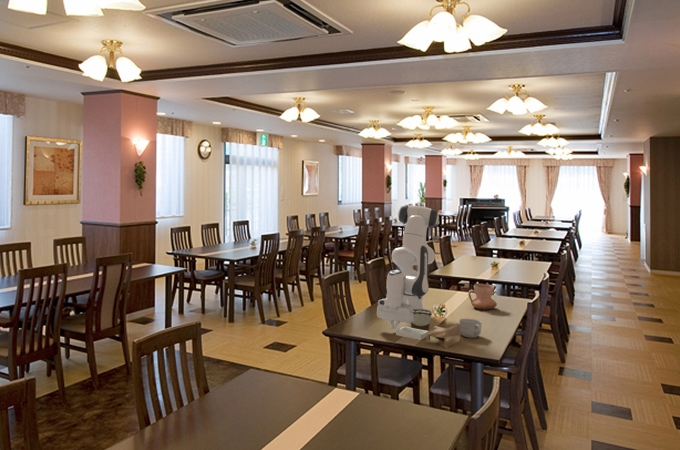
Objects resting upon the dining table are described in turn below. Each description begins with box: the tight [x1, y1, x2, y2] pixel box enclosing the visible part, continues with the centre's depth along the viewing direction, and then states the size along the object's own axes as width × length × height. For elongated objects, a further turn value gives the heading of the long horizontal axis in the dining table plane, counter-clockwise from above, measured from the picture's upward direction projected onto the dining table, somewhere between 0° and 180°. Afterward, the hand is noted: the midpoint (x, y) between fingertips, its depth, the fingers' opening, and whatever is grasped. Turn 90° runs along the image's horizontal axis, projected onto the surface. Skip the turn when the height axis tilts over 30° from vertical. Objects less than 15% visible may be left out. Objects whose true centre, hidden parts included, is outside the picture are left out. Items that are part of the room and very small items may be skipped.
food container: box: [410, 308, 433, 332], centre depth 269 cm, size 12×6×10 cm, turn 71°
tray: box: [395, 326, 430, 341], centre depth 257 cm, size 14×8×3 cm, turn 52°
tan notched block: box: [426, 323, 461, 348], centre depth 247 cm, size 14×14×8 cm
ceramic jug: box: [467, 284, 499, 311], centre depth 315 cm, size 18×14×14 cm
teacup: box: [459, 318, 483, 339], centre depth 255 cm, size 14×11×8 cm
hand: (394, 328), depth 263 cm, fingers closed
